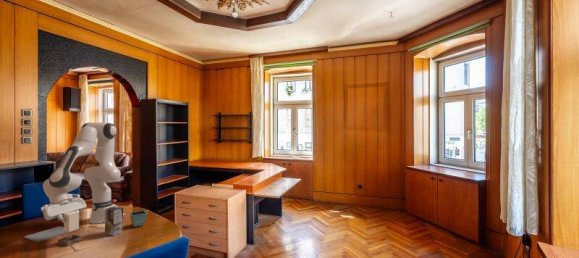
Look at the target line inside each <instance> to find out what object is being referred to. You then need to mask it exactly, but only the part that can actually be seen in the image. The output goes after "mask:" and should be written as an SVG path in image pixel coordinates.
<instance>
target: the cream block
mask: <svg viewBox="0 0 579 258" xmlns="http://www.w3.org/2000/svg"><path fill="white" fill-rule="evenodd" d="M64 218H66V219H67V221H66V222H64V223H63V227H64V231H68V233H71V232H74V231H76V230H79V229H80V211H79V212H76V211H72V212H68V213H64Z"/></svg>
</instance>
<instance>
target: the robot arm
mask: <svg viewBox="0 0 579 258" xmlns="http://www.w3.org/2000/svg"><path fill="white" fill-rule="evenodd" d="M117 132H118V128H117V126H116V124H114V123H111V122H101V121H99V122H86V123H84V124H82V126H81V128H80V130H79V131H78V133H77V134H76V136H75V139H74V141H73V143H72V145H71V146H69V147H68V148H67V150H65V153H64V154H63V156H62V158H61V159H60V161H59V163H58V164H57V166H56V168H55V169H54V171H52V172H51V174H50V176H49V178H48V179H46V180H44V182H43V184H42V189H43V192H44V193H45V195H46V197H48V199H49V202H50V203H48V204H44V205H42V206H41V207H40V211H41V212H42V213H43V217H44V219H45V220H46V221H52V220H51V219H54V218H58V219H59V220H58V221H61V222H62V223H63V224H64V222H66V221H67V219H66V218H63V217H62V216H64V213H68V212H72V211H76V212H79V213H80V212H82V211H84V210H86V208H87V203H86V201H85V200H84V199H83V197H82V198H81V195H80V194H79V193H78V194H75V193H71V192H73V191H76V190H77V189H78V188H79V187H80V186H81V185H82V182H83V179H82V177H81V176H80V175H77V174H75V173H72V172H70V170H71V168H72V166H73V165H74V162H75V160H76V159H77V158H79V157H84V156H85V157H86V156H88V155H90V154H91V153H92V152H93V150H94V148H95V154H94V155H95V156H94V158H95V160H96V161H97V162H98V163H99V166H90V167H87V168H86V169H85V170H84V172H83V178H84V179H85V180H86V182H88V185H89V187H90V188H91V193H92V198H91V199H92V201H91V213H90V217H89V220H88V223H90V224H102V223H103V222H104V223H105V209H107V208H110V207H114V206H116V207H119V205H116V204H115V203H116V202H117V199H112V189H111V187H110V186H109V185H107V184H108V183H114V182H117V181H119V179H121V175H122V174H121V170H120V169H119V168H118V167H117V166H116V163H115V156H114V155H115V143H116V141H115V136H116V135H117ZM95 145H96V147H95ZM124 215H125V216H126V213H125V212H123V217H125V216H124ZM104 223H103V224H104Z"/></svg>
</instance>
